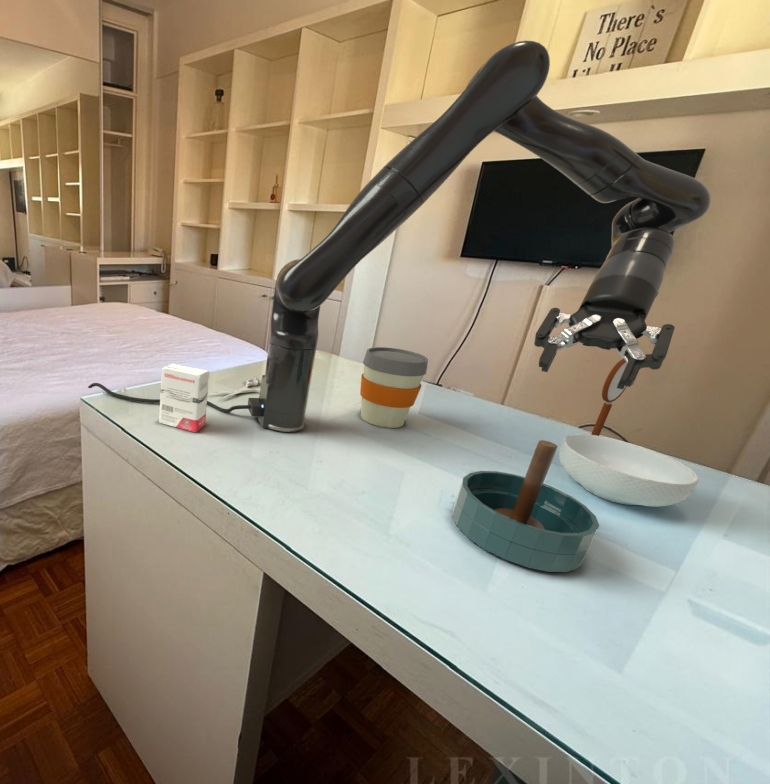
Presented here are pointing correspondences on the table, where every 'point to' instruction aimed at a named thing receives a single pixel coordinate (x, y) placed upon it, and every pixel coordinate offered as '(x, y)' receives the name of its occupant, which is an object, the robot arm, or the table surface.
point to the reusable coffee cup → (390, 385)
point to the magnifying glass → (610, 394)
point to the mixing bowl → (521, 541)
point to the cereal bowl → (625, 471)
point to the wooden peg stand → (532, 485)
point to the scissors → (243, 388)
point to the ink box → (183, 397)
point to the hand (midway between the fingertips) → (581, 376)
